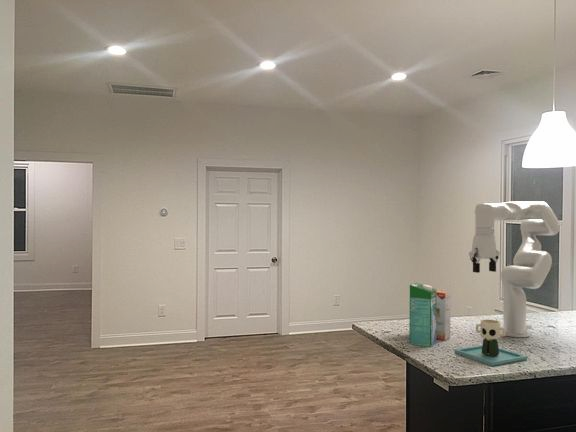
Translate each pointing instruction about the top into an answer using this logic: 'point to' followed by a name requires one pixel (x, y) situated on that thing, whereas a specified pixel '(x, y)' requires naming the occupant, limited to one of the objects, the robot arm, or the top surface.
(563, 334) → the top surface
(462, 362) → the top surface
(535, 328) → the top surface
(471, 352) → the tray
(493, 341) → the character mug
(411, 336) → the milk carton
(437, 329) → the cracker box
